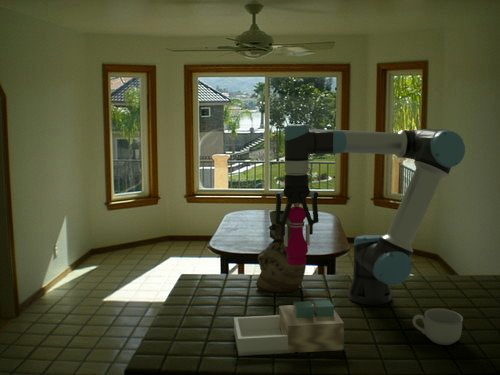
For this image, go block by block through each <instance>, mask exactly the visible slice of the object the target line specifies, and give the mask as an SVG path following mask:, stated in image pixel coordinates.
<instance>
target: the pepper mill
mask: <svg viewBox="0 0 500 375" xmlns="http://www.w3.org/2000/svg"><path fill="white" fill-rule="evenodd" d="M288 219H289V220H290V221H289V226H290V230H291V231H290V237H289V240H288V246H286V250H285V251H286V253H287V254H288V257H287V263H288V264H290V265H304V264H307V257H306V255H307V254H308V252H309V248H308V246H309V245H308V246H307V243H306V238H305V237H304V227H306V223H305V221H304V220H305V219H307V218H306V212H305V210H304V209H303V207H302V206H300V203H293V206H291V209H290V212H289V215H288Z"/></svg>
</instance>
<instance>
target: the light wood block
mask: <svg viewBox="0 0 500 375" xmlns="http://www.w3.org/2000/svg"><path fill="white" fill-rule="evenodd" d="M311 304H312V305H313V303H311ZM278 315H279V316H280V331H281V333H282V335H288V353H287V354H293V353H294V354H296V353H295V352H298V353H311V352H328V351H329V352H330V351H331V352H332V351H344V345H345V343H344V340H345V338H344V337H345V334H344V333H345V329H344V328H345V322H344V321H343V320H342V318H341V317H340V315H339V314H338V312H336V310H335V309H334V316H327V317H317V316H316V315H315V313H314V317H307V318H296V316H295V314H294V304H293V305H290V304H289V305H279V306H278Z"/></svg>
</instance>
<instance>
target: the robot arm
mask: <svg viewBox="0 0 500 375" xmlns="http://www.w3.org/2000/svg"><path fill="white" fill-rule="evenodd" d="M283 136H284V138H283V141H284V142H283V143H284V173H285V174H284V188H283V190H282V191H280V192H279V191H278V192H277V191H276V192H275V194H274V195H275V199H276V202H275V203H276V204H275V211H276V212H275V223H276V224H279V225H280V226H281V235H282V236H284V245H285V246H288V226H287V225H285V224H286V221H287V218H288V215H289V212H290V209H291V207H293V205H294V203H299V204H301V207H302V208H303V209H304V210H305V212H306V218H305V219H306V220H307V221H306V222H307V223H305V241H306V243H307V246H310V241H311V240H310V239H311V238H310V237H311V236H312V235H314V234H313V232H314V229H313V228H314V224H317V223H319V220H320V219H319V211H318V198H319V193H318V191H315V190H314V191H313V190H310V188H309V174H308V173H309V155H336V154H342V153H347V154H348V153H351V154H356V153H357V154H371V155H372V154H374V155H377V154H378V155H393V156H394V155H395V156H396V157H397V158H399V159H410V160H412V161H413V160H414V161H413V163H414V166H415V171H414V172H413V174H412V177H411V179H410V181H409V184H407V185H408V186H407V188H406V190H405V192H404V195H403V197H402V199H401V202H400V204H399V205H398V207H397V210H396V212H395V215H394V216H393V219H392V220H391V223H390V226H389V228H388V229H387V231H386V233H385V234H382V235H381V234H365V235H364V234H363V235H358V236H356V237H355V238H354V240H353V241H354V242H353V277H352V281H351V283H350V286H349V288H348V290H347V291H348V297H347V298H348V299H349V300H350V301H351V302H354V303H357V304H362V305H366V306H367V305H368V306H370V305H371V306H378V305H384V304H387V303H389V302H391V301H392V292H391V288H390V286H395V285H399V284H401V283H403V282H405V281H406V280H407V279H408V278H409V277H410V275H411V273H412V269H413V265H412V260H411V257H412V255H413V253H414V249H413V247H412V244H413V240H414V239H415V237H416V234H417V232H418V231H419V228H420V225H421V224H422V222H423V219H424V217H425V214H426V212H427V210H428V208H429V205H430V204H431V201H432V200H433V198H434V196H435V192H436V191H437V188H438V186H439V184H440V182H441V179H443V178H445V177H448V176H449V174H450V172H451V169H452V168H453V167H455V166H458V165H459V164H460V163H461V162H462V161H463V159H464V157H465V154H466V145H465V143H464V140H463V138H462V137H461V135H459V133H457V132H455V131H453V130H448V129H445V128H442V129H435V128H434V129H433V128H422V129H414V130H413V129H412V130H411V129H410V130H402V129H401V130H398V131H397V132H383V131H364V130H363V131H361V130H341V129H327V128H326V129H325V128H324V129H321V128H320V129H319V128H310V127H309V125H308V124H305V123H304V124H299V123H298V124H287V125H286V126H285V128H284V135H283ZM284 196H285V198H286V199H287V200H286V205H285V207H284V209H283V210H284V213H283V216H282V219H281V220H280V212H281V209H282V200H283V197H284ZM308 196H310V198H311V207H312V209H311V210H312V216H311V213H310V210H309V207H308V203H307V198H308ZM310 235H311V236H310Z"/></svg>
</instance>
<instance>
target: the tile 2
mask: <svg viewBox="0 0 500 375" xmlns="http://www.w3.org/2000/svg"><path fill="white" fill-rule="evenodd" d="M312 304H313V307H314V313H315V315H316V316H317V317H327V316H334V310H335V306H334V304H333V303H332V302H331V300H328V299H327V300H315V301H314V300H313V303H312Z"/></svg>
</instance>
